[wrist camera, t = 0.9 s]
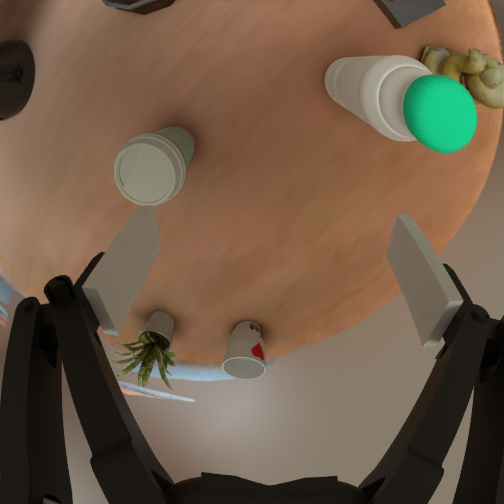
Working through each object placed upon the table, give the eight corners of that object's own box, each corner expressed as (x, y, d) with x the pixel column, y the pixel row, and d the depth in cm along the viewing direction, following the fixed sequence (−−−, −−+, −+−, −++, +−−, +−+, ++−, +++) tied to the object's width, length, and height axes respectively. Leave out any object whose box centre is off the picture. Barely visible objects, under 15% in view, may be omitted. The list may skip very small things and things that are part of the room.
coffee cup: (185, 105, 36) (152, 122, 26) (215, 156, 40) (195, 191, 30) (137, 135, 39) (96, 163, 29) (167, 181, 43) (136, 222, 33)
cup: (271, 338, 62) (270, 377, 54) (235, 342, 64) (230, 380, 56) (261, 313, 58) (259, 355, 50) (222, 318, 59) (215, 359, 51)
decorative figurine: (469, 62, 27) (537, 76, 15) (462, 111, 32) (526, 141, 19) (415, 39, 27) (479, 37, 15) (409, 92, 32) (469, 114, 20)
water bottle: (373, 58, 30) (497, 70, 10) (375, 108, 34) (487, 178, 14) (321, 56, 31) (395, 47, 11) (324, 107, 35) (394, 174, 15)
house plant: (119, 290, 57) (88, 352, 44) (180, 290, 56) (156, 360, 42) (142, 334, 66) (120, 392, 52) (197, 337, 64) (182, 401, 51)
